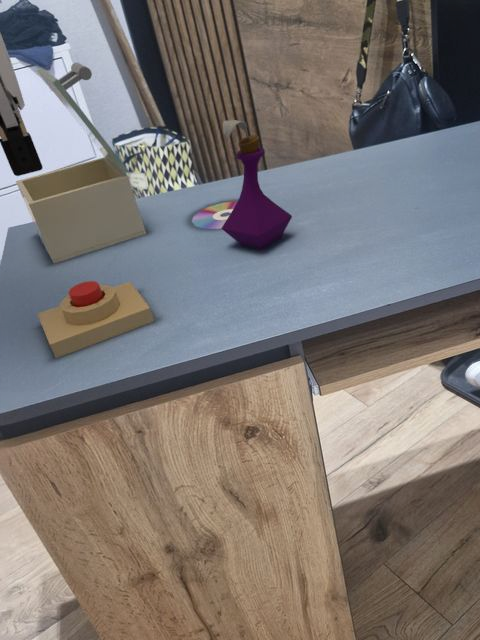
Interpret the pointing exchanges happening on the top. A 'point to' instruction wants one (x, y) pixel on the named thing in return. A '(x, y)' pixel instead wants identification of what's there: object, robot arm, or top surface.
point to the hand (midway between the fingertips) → (28, 171)
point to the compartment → (82, 208)
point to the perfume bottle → (253, 199)
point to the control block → (94, 319)
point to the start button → (86, 294)
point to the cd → (213, 216)
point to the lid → (75, 111)
